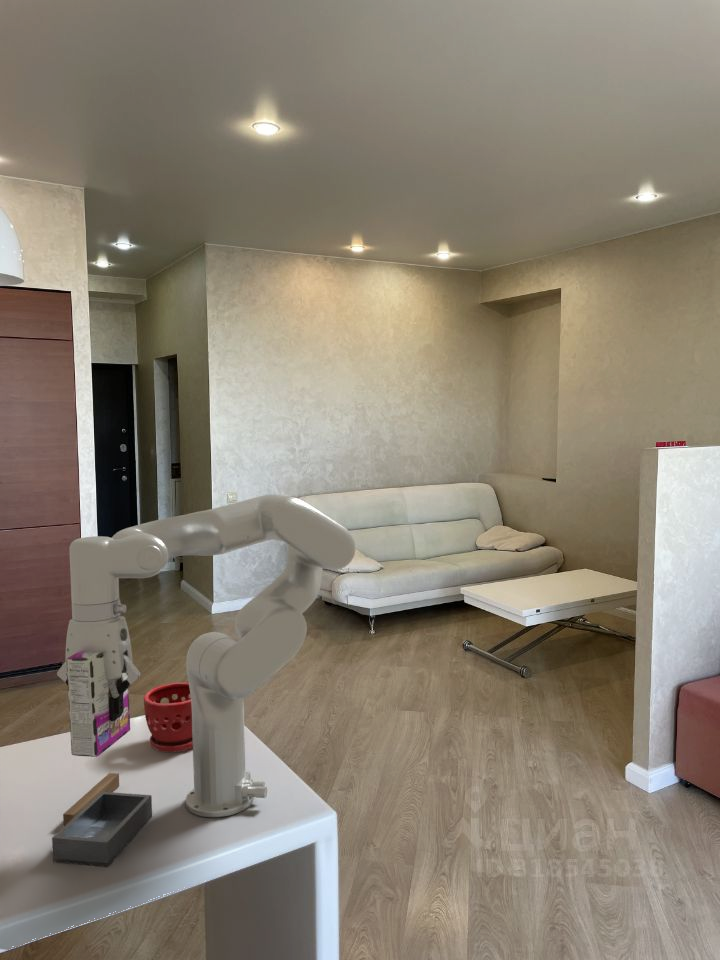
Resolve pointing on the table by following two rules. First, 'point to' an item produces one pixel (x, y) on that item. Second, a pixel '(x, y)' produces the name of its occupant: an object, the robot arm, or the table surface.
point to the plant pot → (169, 717)
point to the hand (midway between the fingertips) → (100, 716)
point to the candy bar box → (92, 706)
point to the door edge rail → (92, 795)
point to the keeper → (102, 829)
